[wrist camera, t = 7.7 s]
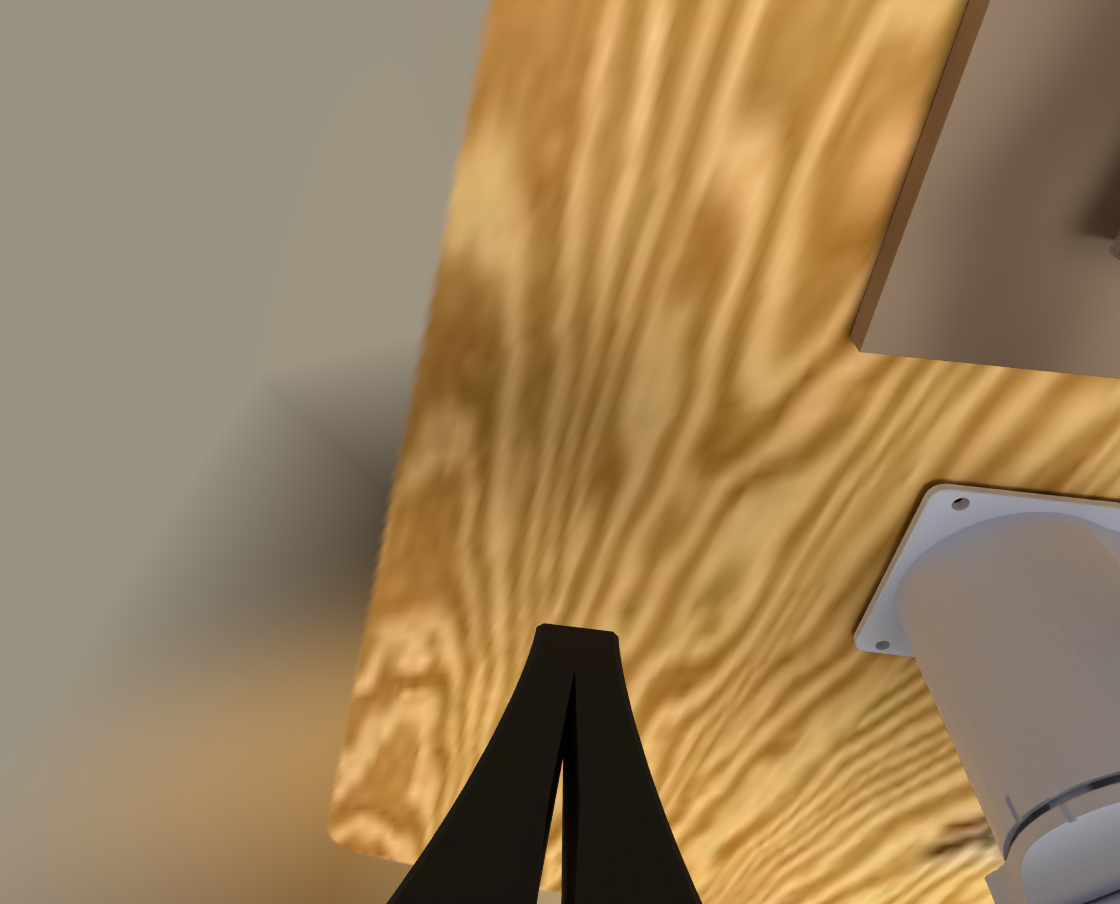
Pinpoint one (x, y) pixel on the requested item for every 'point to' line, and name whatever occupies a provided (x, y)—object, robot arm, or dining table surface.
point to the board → (1011, 200)
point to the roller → (1116, 247)
